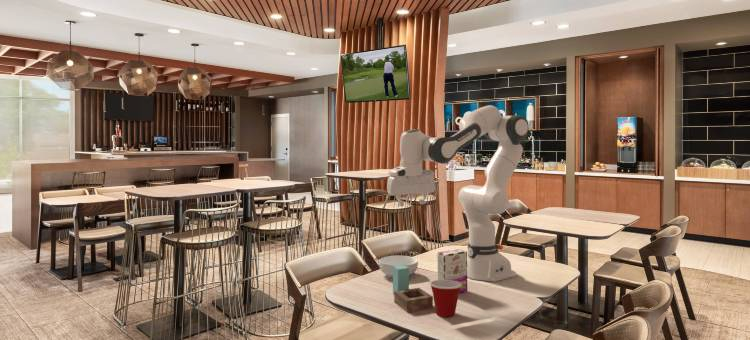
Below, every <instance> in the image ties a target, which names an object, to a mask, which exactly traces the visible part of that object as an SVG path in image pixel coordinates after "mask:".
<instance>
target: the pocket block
mask: <svg viewBox="0 0 750 340" xmlns="http://www.w3.org/2000/svg"><path fill="white" fill-rule="evenodd" d="M393 297H394V298H393V300H394V301H393V302H394V303H395V304H396V305H397V306H398V307H399V308H401V310H403V311H404V312H406V313H412V312H418V311H422V310H423V311H424V310H428V309H433V308H434V306H433V305H434V297H433V295H431V294H429V293H428V292H427V291H425V290H424V289H422V288H421V287H414V288H409V289H408V290H401V291H395V292H394V295H393Z"/></svg>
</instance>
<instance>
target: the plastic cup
mask: <svg viewBox="0 0 750 340" xmlns="http://www.w3.org/2000/svg"><path fill="white" fill-rule="evenodd" d="M429 285H430V288H431V290H432V291H431V292H432V296H433V304H434V308H435V313H436V316H437V317H439V318H443V319H446V318H447V319H449V318H453V317H455V315H456V311H457V310H456V309H457V305H458V298H459V290H460V287H461V286H462V284H461V283H460V282H457V281H453V280H438V279H436V280H432V281H430V282H429Z"/></svg>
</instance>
